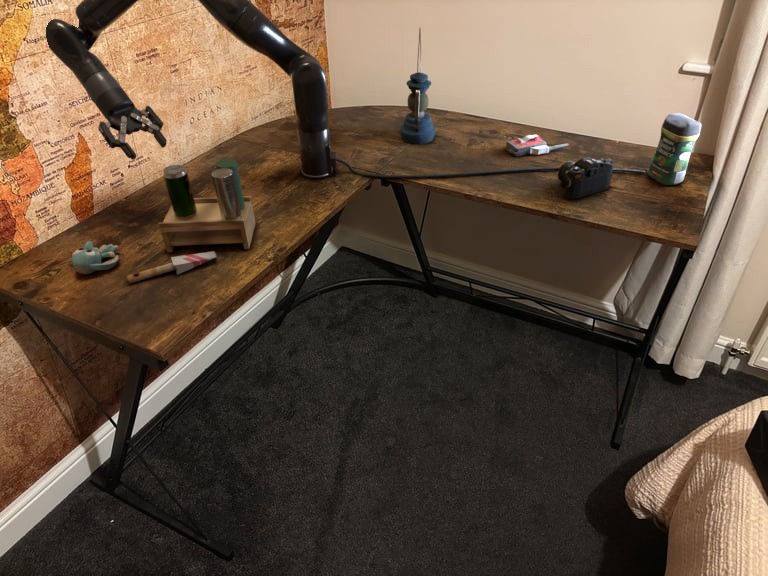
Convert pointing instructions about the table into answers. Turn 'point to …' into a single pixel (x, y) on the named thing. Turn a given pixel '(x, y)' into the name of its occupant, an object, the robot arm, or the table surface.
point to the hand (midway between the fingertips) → (150, 151)
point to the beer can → (180, 191)
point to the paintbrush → (174, 265)
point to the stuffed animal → (94, 258)
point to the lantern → (418, 109)
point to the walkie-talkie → (529, 146)
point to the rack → (214, 214)
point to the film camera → (585, 176)
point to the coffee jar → (674, 149)
